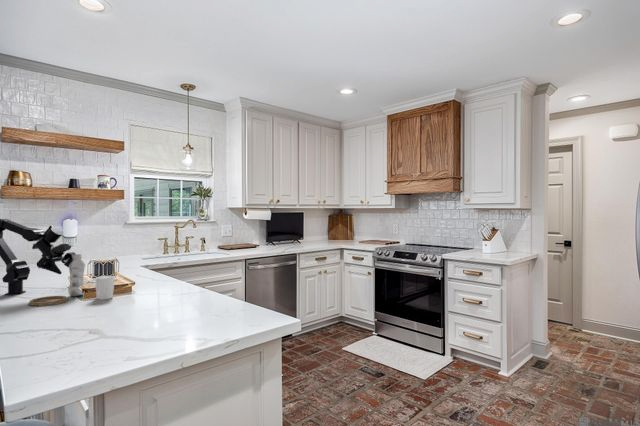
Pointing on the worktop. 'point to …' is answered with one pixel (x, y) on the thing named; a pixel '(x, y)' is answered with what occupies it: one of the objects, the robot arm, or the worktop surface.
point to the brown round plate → (48, 301)
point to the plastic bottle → (76, 275)
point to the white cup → (104, 287)
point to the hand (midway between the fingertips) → (68, 272)
